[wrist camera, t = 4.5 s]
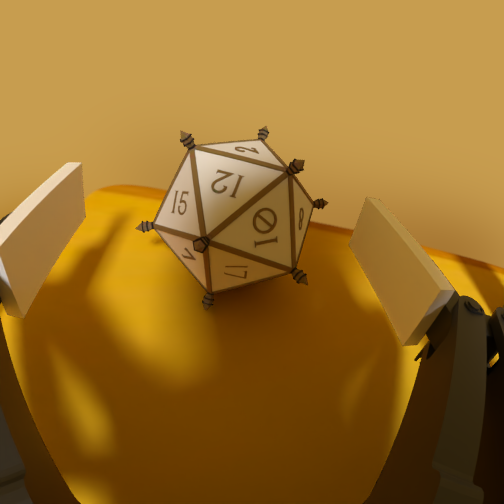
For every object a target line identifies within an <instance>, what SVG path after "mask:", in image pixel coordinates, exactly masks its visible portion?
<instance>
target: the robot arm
mask: <svg viewBox="0 0 504 504" xmlns="http://www.w3.org/2000/svg"><path fill="white" fill-rule="evenodd" d="M85 217H86V215H85V204H84V192H83V176H82V163H71V162H68V163H66V164H65V165H64V166H63V167H61V168H60V169H59V170H58V171H57V172H55V173H54V174H53V175H52V176H51V177H50V178H48V179H47V180H46V181H45V182H44V183H43V184H42V185H41V186H40V187H38V188H37V189H36V190H35V191H34V192H33V193H32V194H31V195H30V196H29V197H27V198H26V199H25V200H24V201H23V202H22V203H21V204H20V205H19V206H18V207H17V208H16V209H15V210H14V211H13V212H11V213H10V214H8V215H6V216H5V217H3V218H2V219H1V220H0V303H1V302H2V304H3V306H4V309H5V311H6V313H7V315H11V316H15V317H19V318H23V319H24V317H25V315H26V313H27V312H28V310H29V308H30V306H31V304H32V302H33V300H34V298H35V297H36V295H37V293H38V291H39V289H40V288H41V286H42V284H43V282H44V281H45V279H46V277H47V276H48V274H49V272H50V271H51V269H52V267H53V266H54V264H55V262H56V261H57V259H58V258H59V256H60V254H61V253H62V251H63V250H64V248H65V247H66V245H67V244H68V242H69V241H70V239H71V238H72V236H73V235H74V233H75V232H76V230H77V229H78V227H79V226H80V225H81V223H82V222H83V220H84V219H85ZM349 246H350V248H351V250H352V251H353V253H354V255H355V257H356V258H357V260H358V262H359V264H360V265H361V267H362V269H363V271H364V273H365V274H366V276H367V278H368V280H369V282H370V283H371V285H372V287H373V289H374V291H375V293H376V295H377V297H378V298H379V300H380V302H381V304H382V306H383V308H384V310H385V312H386V314H387V316H388V318H389V320H390V322H391V324H392V326H393V328H394V330H395V332H396V334H397V336H398V338H399V340H400V342H401V344H402V346H409V345H417V344H418V343H419V342H420V340H421V339H422V338H423V336H424V335H425V334H426V335H427V337H428V339H429V341H428V342H427V344H426V345H425V346H424V348H423V349H422V350H421V351H420V353H419V354H418V355H417V356H416V358H415V359H414V360H415V361H417V360H418V359H419V358H421V357H422V358H421V362H420V366H419V370H418V373H417V377H416V380H415V384H414V387H413V390H412V393H411V397H410V400H409V403H408V406H407V409H406V412H405V415H404V417H403V420H402V423H401V426H400V428H399V431H398V434H397V436H396V439H395V441H394V444H393V446H392V449H391V451H390V454H389V456H388V458H387V461H386V463H385V465H384V467H383V470H382V472H381V474H380V476H379V478H378V480H377V482H376V484H375V486H374V488H373V490H372V492H371V494H370V496H369V497H368V498H367V500H366V501H365V502H364V503H362V504H504V308H501V307H499V308H497V309H496V310H495V312H494V313H493V314H492V316H488V315H485V313H484V310H483V308H482V307H481V306H480V305H479V303H478V302H477V301H475V300H474V299H472V298H470V297H468V296H459V294H458V293H457V292H456V290H455V289H454V288H453V286H452V285H451V284H450V282H449V281H448V280H447V278H446V277H445V276H444V274H443V273H442V272H441V270H439V268H438V266H437V265H436V264H435V263H434V261H433V260H432V259H431V258H430V257H429V256H428V254H427V253H426V252H425V251H424V249H423V248H422V247H421V246H420V245H419V243H418V242H417V241H416V240H415V239H414V238H413V236H412V235H411V234H410V233H409V232H408V230H407V229H406V228H405V227H404V226H403V225H402V224H401V222H400V221H399V220H398V219H397V218H396V217H395V216H394V215H393V213H392V212H391V211H390V210H389V209H388V208H387V207H386V206H385V205H384V204H383V203H382V202H381V200H380V199H375V198H370V197H366V200H365V202H364V205H363V208H362V211H361V213H360V216H359V219H358V221H357V224H356V227H355V229H354V232H353V234H352V237H351V240H350V242H349ZM497 353H498V354H499V359H498V361H497V362H496V363H495V364H494V365H493V366H492V367H490V365H489V362H490V361H491V360H492V359H493V358H494V356H495V355H496V354H497ZM0 504H81V503H80V502H79V501H78V500H77V499H76V498H75V497H74V495H73V494H72V492H71V491H70V489H69V488H68V486H67V484H66V483H65V481H64V479H63V478H62V476H61V474H60V473H59V471H58V469H57V467H56V465H55V464H54V462H53V460H52V458H51V456H50V454H49V452H48V450H47V448H46V446H45V444H44V442H43V440H42V438H41V436H40V434H39V432H38V430H37V427H36V425H35V423H34V421H33V418H32V416H31V414H30V411H29V409H28V406H27V404H26V401H25V399H24V396H23V393H22V391H21V388H20V385H19V382H18V379H17V376H16V373H15V370H14V367H13V364H12V360H11V357H10V354H9V350H8V346H7V343H6V339H5V335H4V331H3V327H2V322H1V318H0Z"/></svg>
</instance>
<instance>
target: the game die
mask: <svg viewBox="0 0 504 504" xmlns="http://www.w3.org/2000/svg"><path fill="white" fill-rule="evenodd" d="M268 134H269V132H268V130H267V126H265V127H264V128H262V129H260V130H259V133H258V139H254V140H241V141H229V142H219V143H209V144H201V145H195V144H194V141H193V140H194V138H192V137H191V135H192V134H188V133H185V132H183V131H181V139H180V142H182V143H183V145H184V147H185V146H186V147H187V148H188V151H187V153H186V155H185V157H184V158H183V160H182V162H181V164H180V166H179V168H178V170H177V172H176V174H175V177H174V179H173V181H172V183H171V185H170V187H169V189H168V191H167V193H166V195H165V197H164V199H163V201H162V203H161V206H160V208H159V210H158V212H157V214H156V217H155V219H154V221H153V222H148V221H146V222H143V221H142V223H141V224H140V225H139V226H138V227H136V228H135V229H138V230H140V231H143V232H145V231H148V232H149V230H151V229H155V231H156V232H157V233H158V234H159V236H160V237H161V238H162V239H163V240H164V242H165V243H166V244H167V245H168V247H169V248H170V249H171V250H172V251H173V253H174V254H175V255H176V256H177V257H178V259H179V260H180V261H181V262H182V263H183V265H184V266H185V267H186V268H187V269H188V270H189V272H190V273H191V274H192V275H193V276H194V277H195V279H196V280H197V281H198V282H199V283H200V284H201V286H202V287H203V288H204V289H205V290H206V291H207V294H206V295H205V296H204V300H202V303H203V304H204V309H205V310H206V309H207V308H209V307H210V306H211V305H213V304H212V302H213V301H214V299H213V295H214V294H216V293H220V292H224V291H227V290H231V289H235V288H239V287H243V286H246V285H250V284H254V283H258V282H261V281H265V280H269V279H272V278H276V277H280V276H283V275H287V274H292V275H293V279H295V280H296V281H297V283H302V284H305V285H308V283H307V278H306V275H307V274H304V273H303V270H299V269H297V268H296V266H297V263H298V260H299V256H300V253H301V250H302V246H303V243H304V239H305V236H306V232H307V229H308V225H309V222H310V218H311V215H312V211H313V208H318V209H319V208H322V209H323V208H324V206H325V205H327V203H328V202H327V201H325V200H323V198H322V199H320V200H319V199H317V200H315V201H313V200H312V199H311V197H310V196H309V195H308V193H307V192H306V190H305V189H304V187H303V186H302V185H301V183H300V182H299V180H298V179H297V178H296V176H295V175H294V174H297V173H299V171H303V170H304V169H303V166H304V160H296V159H294V160H293V162H290V164H289V167H288V166H287V165H286V164H285V163H284V162H283V161H282V160H281V158H280V157H279V156H278V155H277V154H276V153H275V152H274V151H273V150H272V149H271V148H270V147H269V146H268V144H267V143H266V142H265V141H264V140H265V139H266V138H267V135H268Z"/></svg>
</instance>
